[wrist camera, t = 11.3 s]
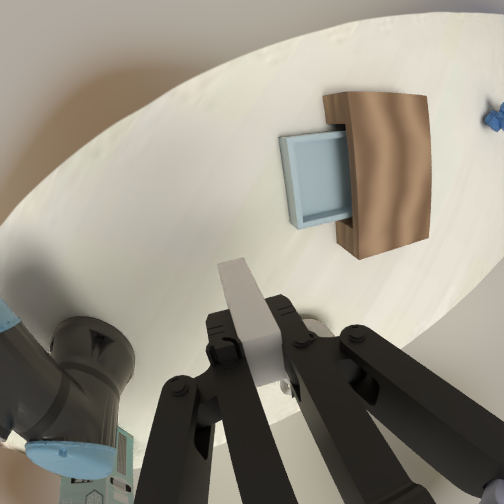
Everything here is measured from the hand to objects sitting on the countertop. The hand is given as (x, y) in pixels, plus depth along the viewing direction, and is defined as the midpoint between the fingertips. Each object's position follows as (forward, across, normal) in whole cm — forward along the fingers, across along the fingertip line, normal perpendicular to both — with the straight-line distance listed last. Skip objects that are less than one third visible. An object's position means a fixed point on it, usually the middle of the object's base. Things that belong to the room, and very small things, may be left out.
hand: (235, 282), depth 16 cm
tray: (+22, +21, 0) cm, 31 cm away
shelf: (+22, +25, 0) cm, 34 cm away
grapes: (+23, +62, +10) cm, 67 cm away
